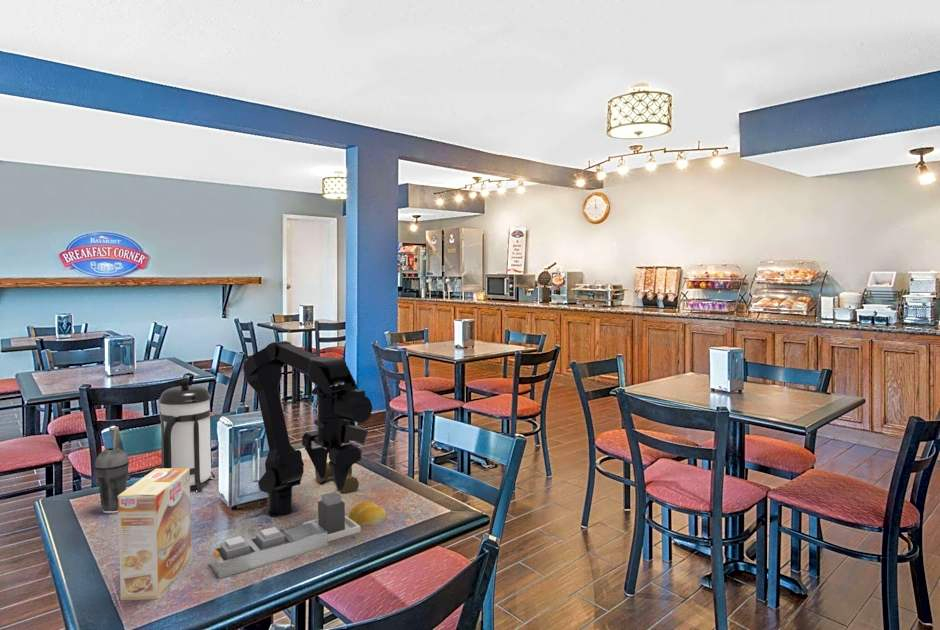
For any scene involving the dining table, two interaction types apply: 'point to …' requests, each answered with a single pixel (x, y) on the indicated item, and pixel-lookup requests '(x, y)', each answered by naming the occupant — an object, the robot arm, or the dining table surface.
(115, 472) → the beverage cup
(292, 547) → the power strip
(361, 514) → the bread roll
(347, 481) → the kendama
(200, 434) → the coffee press
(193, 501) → the dining table surface
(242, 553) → the twin plug
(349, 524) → the tray
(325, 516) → the plug
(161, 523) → the coffeecake box
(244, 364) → the robot arm
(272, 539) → the twin plug
